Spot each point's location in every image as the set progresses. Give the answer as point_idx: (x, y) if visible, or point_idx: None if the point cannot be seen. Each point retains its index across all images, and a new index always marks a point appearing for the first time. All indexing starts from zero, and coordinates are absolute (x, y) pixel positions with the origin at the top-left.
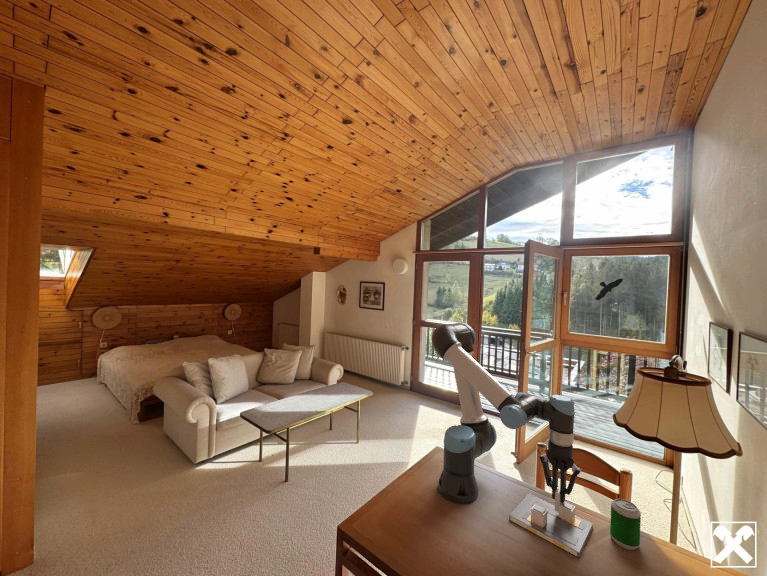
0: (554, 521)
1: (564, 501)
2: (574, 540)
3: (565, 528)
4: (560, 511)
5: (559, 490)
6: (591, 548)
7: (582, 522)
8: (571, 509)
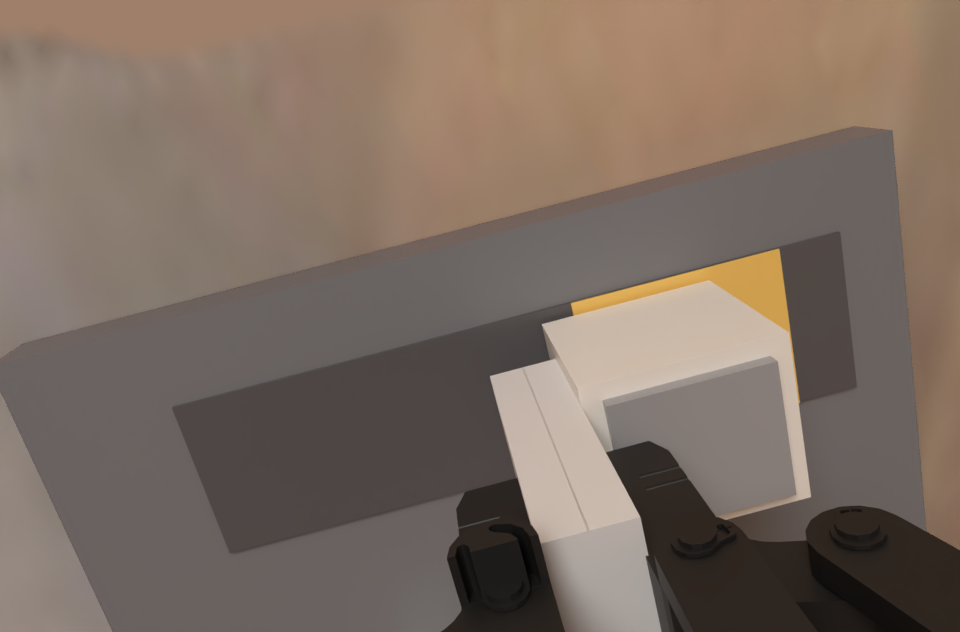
0: None
1: (652, 447)
2: None
3: None
4: None
5: (604, 577)
6: (947, 465)
7: (799, 254)
8: (791, 481)
